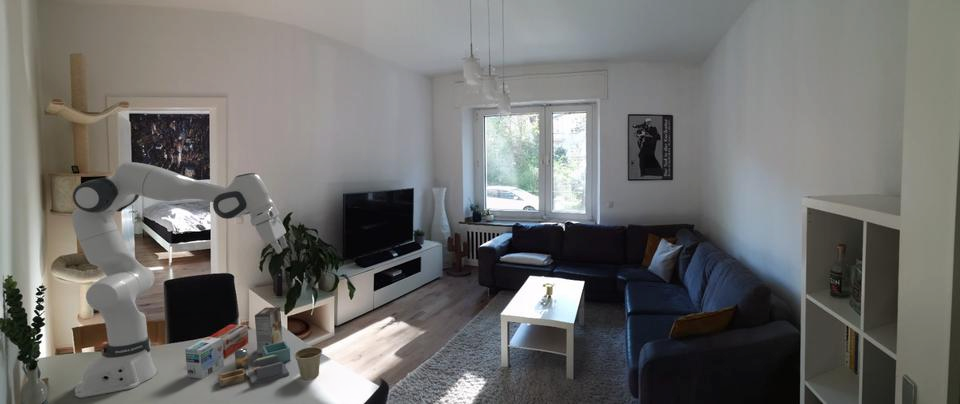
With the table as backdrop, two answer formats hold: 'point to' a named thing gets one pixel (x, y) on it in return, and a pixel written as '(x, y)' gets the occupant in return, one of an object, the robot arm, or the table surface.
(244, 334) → the medicine box
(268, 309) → the coffee box
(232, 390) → the table surface
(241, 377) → the trough
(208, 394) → the table surface
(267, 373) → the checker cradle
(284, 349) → the cup
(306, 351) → the flower pot
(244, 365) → the cell
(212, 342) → the light bulb box
